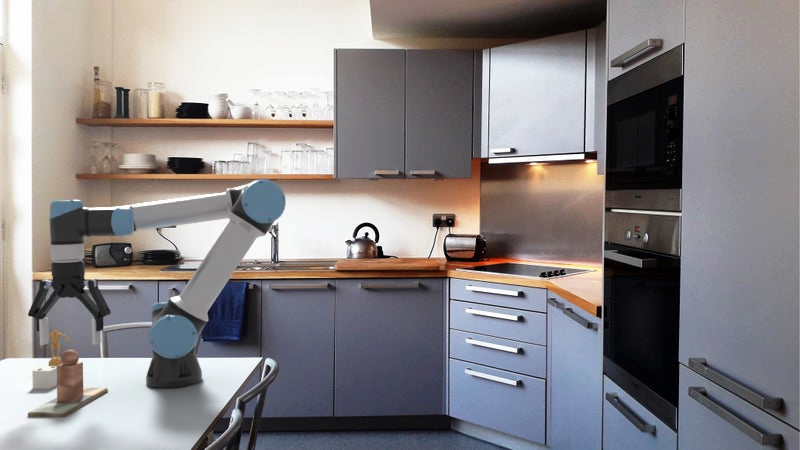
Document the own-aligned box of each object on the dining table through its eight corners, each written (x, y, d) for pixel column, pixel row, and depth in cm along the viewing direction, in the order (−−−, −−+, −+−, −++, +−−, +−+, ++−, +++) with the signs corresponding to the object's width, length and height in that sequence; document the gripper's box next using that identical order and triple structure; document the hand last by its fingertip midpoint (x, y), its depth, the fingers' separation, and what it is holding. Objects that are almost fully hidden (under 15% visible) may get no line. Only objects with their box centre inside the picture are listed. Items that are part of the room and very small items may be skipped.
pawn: (83, 396, 168) (82, 347, 167) (74, 401, 163) (73, 351, 163) (66, 396, 168) (65, 347, 167) (57, 401, 163) (56, 351, 163)
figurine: (40, 373, 195) (39, 333, 195) (40, 368, 201) (40, 330, 200) (71, 369, 199) (70, 331, 199) (70, 365, 205) (70, 327, 204)
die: (60, 383, 184) (60, 366, 184) (50, 388, 179) (50, 370, 179) (43, 383, 184) (43, 365, 184) (32, 388, 179) (32, 370, 179)
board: (107, 391, 176) (107, 387, 176) (64, 417, 155) (64, 412, 155) (75, 391, 176) (75, 387, 176) (27, 416, 155) (27, 412, 155)
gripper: (123, 259, 167) (125, 340, 168) (29, 259, 169) (31, 340, 169) (108, 261, 160) (111, 346, 161) (10, 262, 161) (13, 347, 162)
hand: (70, 344), depth 165 cm, fingers open, 13 cm apart
